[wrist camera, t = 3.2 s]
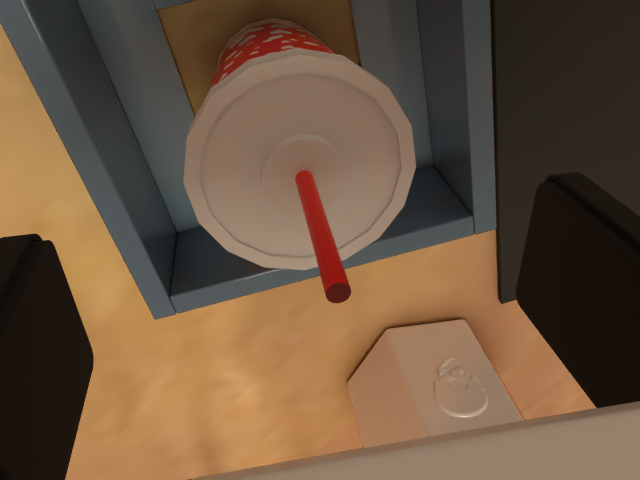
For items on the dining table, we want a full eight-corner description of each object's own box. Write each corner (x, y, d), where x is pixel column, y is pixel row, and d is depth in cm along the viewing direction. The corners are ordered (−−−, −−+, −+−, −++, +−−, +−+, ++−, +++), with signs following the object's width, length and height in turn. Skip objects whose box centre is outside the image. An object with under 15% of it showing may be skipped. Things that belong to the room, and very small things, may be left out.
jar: (501, 309, 30) (639, 511, 20) (481, 405, 35) (587, 611, 25) (345, 329, 29) (410, 552, 19) (346, 426, 34) (399, 649, 24)
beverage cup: (185, -3, 19) (134, 146, 8) (351, -7, 20) (529, 122, 9) (205, 154, 23) (190, 425, 11) (347, 145, 24) (472, 388, 12)
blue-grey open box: (424, -159, 18) (485, -175, 14) (451, 174, 25) (497, 229, 21) (24, -57, 18) (-35, -42, 14) (165, 250, 25) (154, 320, 21)
